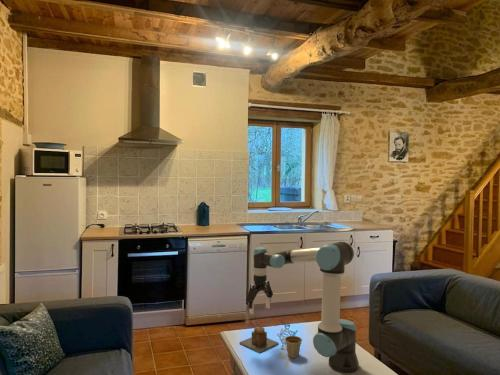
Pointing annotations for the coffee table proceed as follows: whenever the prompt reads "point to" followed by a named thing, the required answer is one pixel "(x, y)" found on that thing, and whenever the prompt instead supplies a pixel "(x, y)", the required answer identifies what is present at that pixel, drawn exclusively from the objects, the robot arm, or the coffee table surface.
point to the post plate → (258, 348)
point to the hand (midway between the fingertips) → (259, 311)
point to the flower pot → (293, 345)
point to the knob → (259, 336)
